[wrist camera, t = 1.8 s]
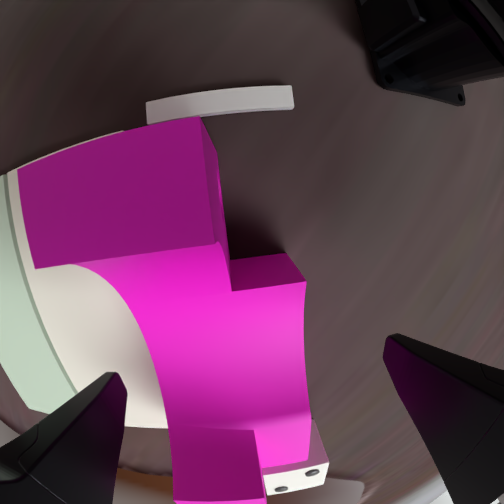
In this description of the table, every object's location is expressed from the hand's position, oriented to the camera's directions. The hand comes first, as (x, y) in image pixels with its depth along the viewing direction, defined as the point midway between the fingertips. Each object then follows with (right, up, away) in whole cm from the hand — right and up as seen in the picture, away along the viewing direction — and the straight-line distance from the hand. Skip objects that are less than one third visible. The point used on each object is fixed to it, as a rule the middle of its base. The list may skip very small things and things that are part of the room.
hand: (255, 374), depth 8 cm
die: (+2, -10, +8) cm, 13 cm away
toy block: (-1, +1, +5) cm, 6 cm away
